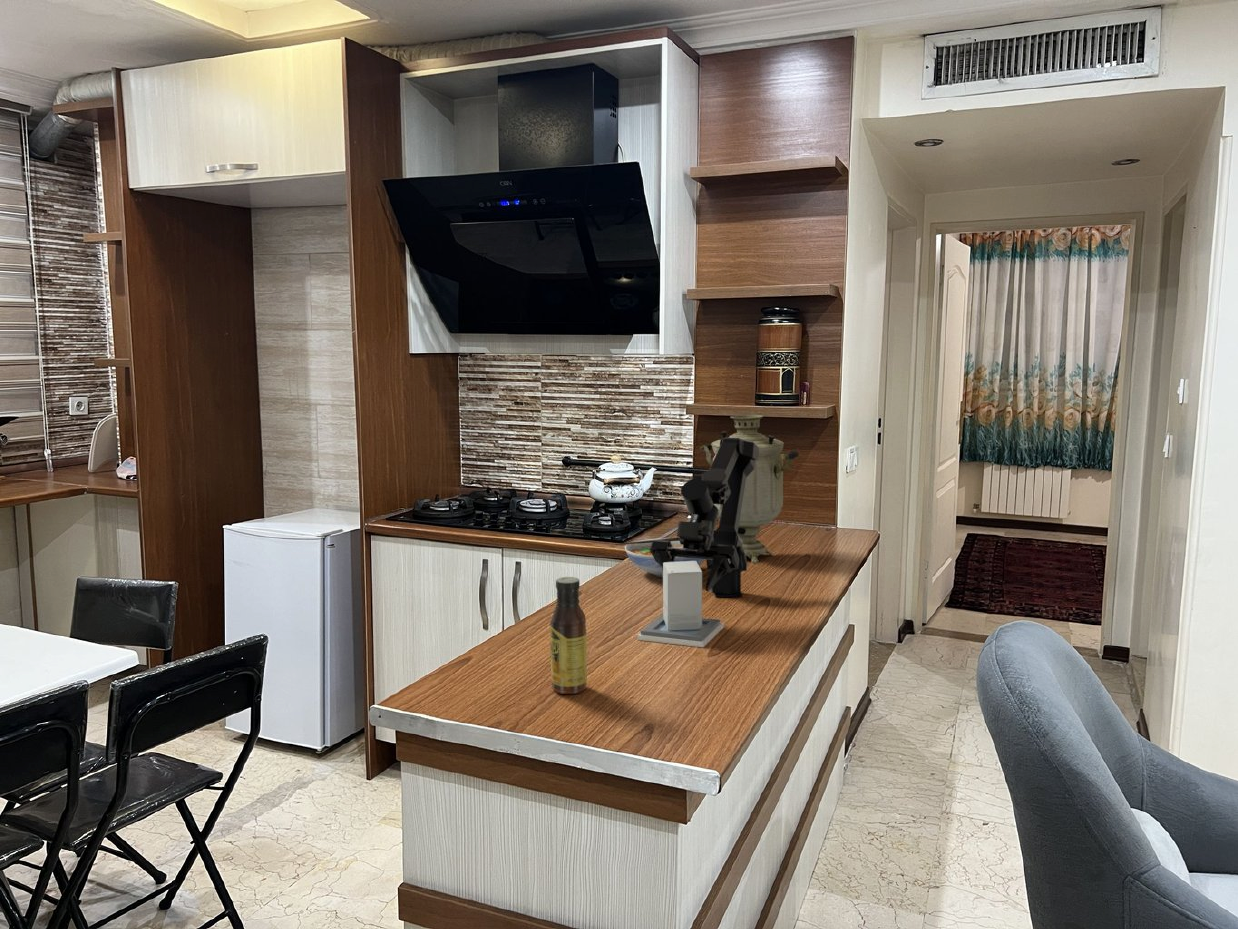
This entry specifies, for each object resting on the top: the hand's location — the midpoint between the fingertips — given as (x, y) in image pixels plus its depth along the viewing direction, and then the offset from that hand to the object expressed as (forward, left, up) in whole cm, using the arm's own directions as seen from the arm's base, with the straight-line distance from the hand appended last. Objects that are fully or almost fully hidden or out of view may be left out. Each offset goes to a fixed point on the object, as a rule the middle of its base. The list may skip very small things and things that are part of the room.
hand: (685, 588), depth 195 cm
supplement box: (+1, +1, -7) cm, 8 cm away
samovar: (-28, -67, -9) cm, 73 cm away
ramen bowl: (-1, -48, -9) cm, 49 cm away
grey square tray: (+1, +3, -9) cm, 9 cm away
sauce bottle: (+25, +33, -9) cm, 42 cm away
